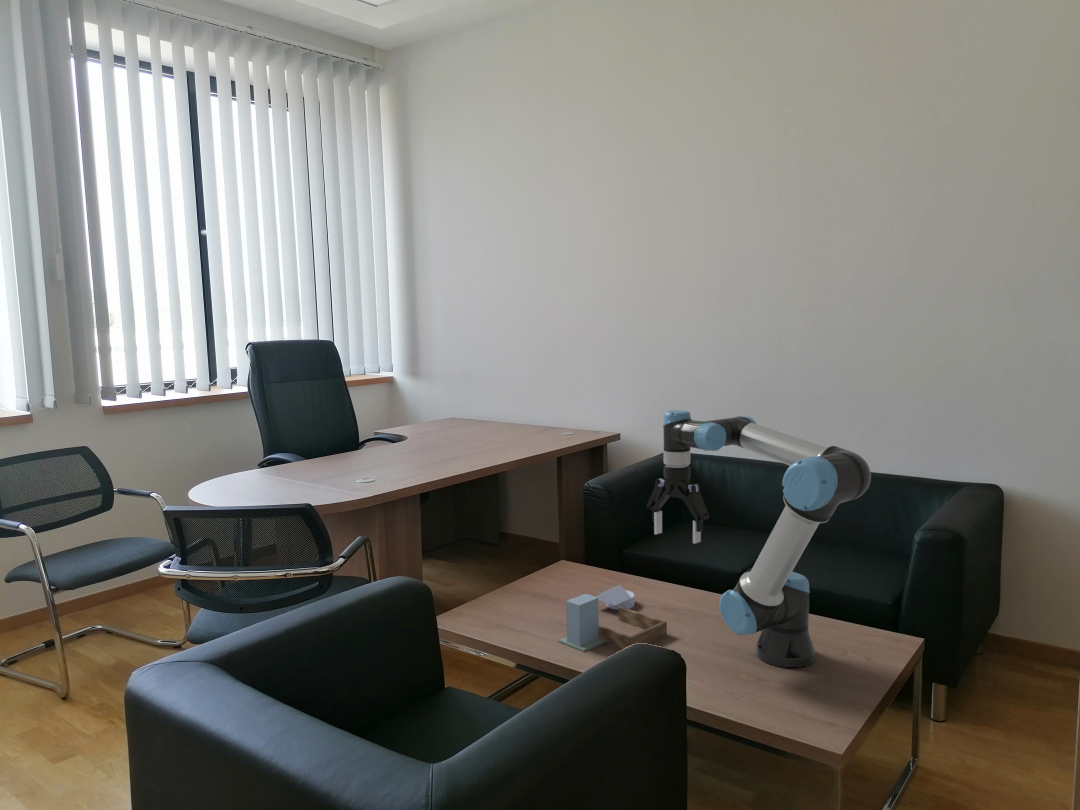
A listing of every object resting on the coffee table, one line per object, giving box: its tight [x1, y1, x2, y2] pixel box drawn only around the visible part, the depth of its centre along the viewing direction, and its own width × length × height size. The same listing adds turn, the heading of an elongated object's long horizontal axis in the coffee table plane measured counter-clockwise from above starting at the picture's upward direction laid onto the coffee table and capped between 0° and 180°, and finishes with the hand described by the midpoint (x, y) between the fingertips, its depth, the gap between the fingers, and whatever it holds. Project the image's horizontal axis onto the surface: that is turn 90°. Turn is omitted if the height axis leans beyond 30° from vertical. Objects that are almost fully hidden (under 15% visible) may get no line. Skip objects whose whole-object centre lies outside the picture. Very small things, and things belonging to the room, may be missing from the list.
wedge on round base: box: [595, 584, 635, 611], centre depth 252 cm, size 9×7×13 cm
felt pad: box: [557, 635, 606, 653], centre depth 226 cm, size 10×10×1 cm
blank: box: [565, 593, 600, 647], centre depth 225 cm, size 5×8×12 cm, turn 133°
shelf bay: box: [599, 607, 668, 650], centre depth 230 cm, size 18×16×4 cm
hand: (677, 537), depth 227 cm, fingers open, 13 cm apart
